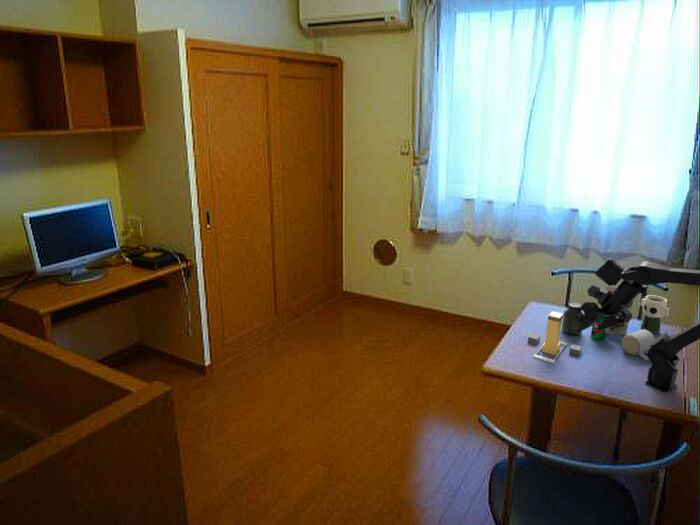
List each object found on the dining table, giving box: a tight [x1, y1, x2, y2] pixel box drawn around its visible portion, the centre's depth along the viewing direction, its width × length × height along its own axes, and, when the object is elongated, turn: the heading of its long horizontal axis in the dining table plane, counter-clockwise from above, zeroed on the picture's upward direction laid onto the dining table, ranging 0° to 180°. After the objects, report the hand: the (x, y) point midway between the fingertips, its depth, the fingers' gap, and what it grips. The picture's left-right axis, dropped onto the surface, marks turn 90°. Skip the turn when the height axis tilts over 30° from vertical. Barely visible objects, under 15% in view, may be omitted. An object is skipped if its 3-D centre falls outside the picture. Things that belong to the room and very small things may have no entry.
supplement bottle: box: [561, 302, 584, 337], centre depth 192 cm, size 7×7×12 cm
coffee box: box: [599, 286, 634, 336], centre depth 196 cm, size 9×6×16 cm
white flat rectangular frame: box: [527, 333, 583, 364], centre depth 180 cm, size 20×16×3 cm
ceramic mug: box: [621, 329, 656, 362], centre depth 180 cm, size 11×8×8 cm
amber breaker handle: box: [541, 310, 564, 356], centre depth 178 cm, size 4×4×13 cm
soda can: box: [590, 306, 608, 342], centre depth 188 cm, size 5×5×12 cm
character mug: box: [640, 294, 670, 334], centre depth 197 cm, size 11×7×13 cm, turn 25°
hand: (589, 329), depth 172 cm, fingers open, 9 cm apart
